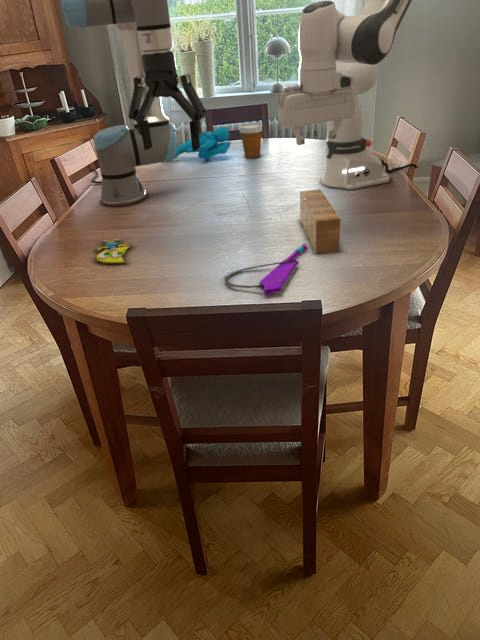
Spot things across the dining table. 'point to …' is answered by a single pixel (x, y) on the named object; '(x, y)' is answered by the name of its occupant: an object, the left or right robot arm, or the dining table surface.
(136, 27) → the left robot arm
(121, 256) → the toy
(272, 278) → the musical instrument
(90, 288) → the dining table surface
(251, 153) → the glass of beer
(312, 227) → the bar
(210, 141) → the toy
